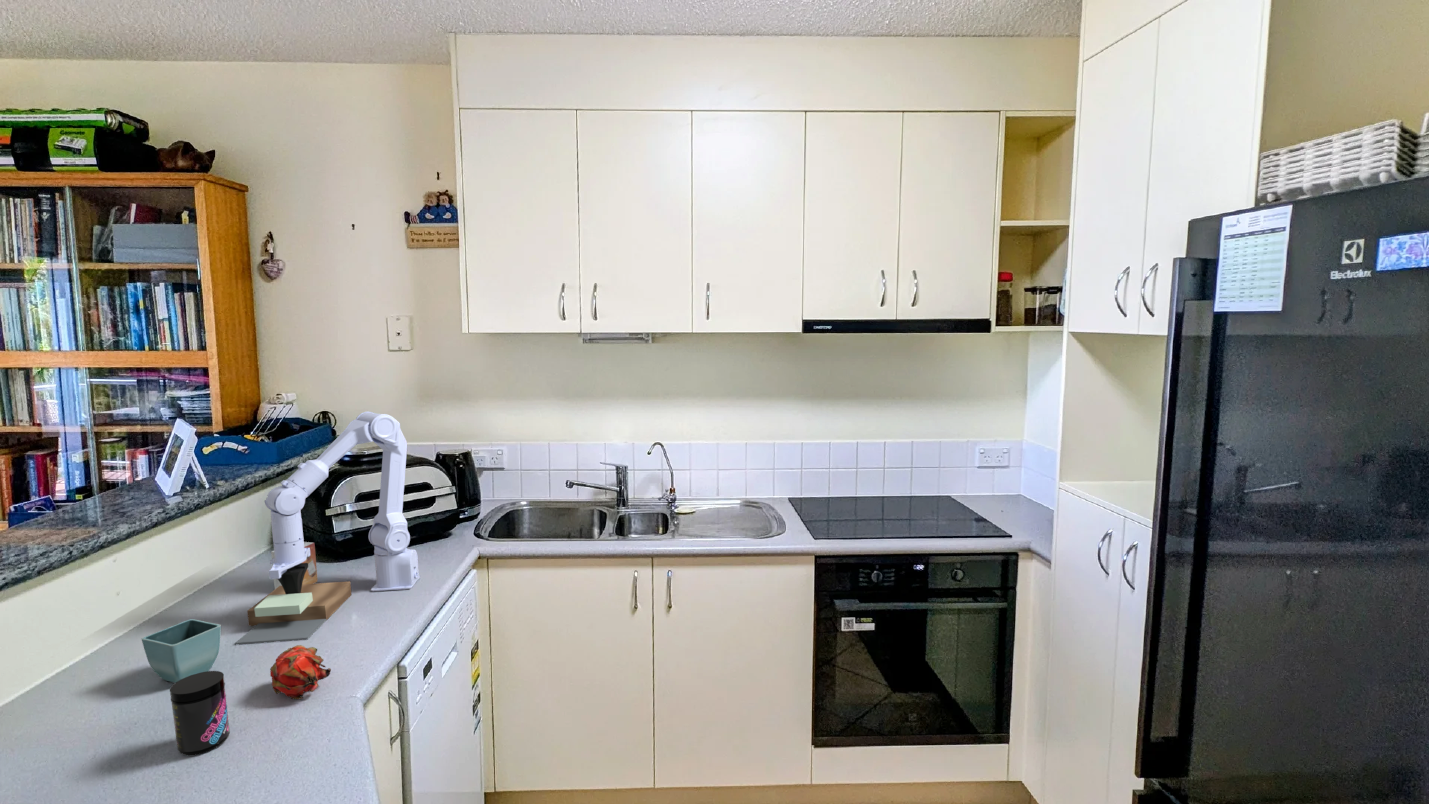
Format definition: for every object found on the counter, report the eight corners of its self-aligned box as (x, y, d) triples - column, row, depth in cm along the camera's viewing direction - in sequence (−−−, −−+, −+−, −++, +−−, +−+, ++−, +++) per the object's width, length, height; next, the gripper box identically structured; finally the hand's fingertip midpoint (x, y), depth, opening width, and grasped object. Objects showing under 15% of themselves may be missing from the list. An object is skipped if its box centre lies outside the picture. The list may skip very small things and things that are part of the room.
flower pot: (227, 668, 128) (222, 624, 127) (177, 692, 120) (172, 645, 119) (195, 661, 131) (190, 618, 130) (145, 684, 123) (139, 638, 122)
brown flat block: (351, 595, 162) (350, 581, 162) (326, 620, 148) (325, 605, 148) (280, 599, 160) (279, 585, 160) (248, 625, 146) (247, 610, 146)
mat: (326, 620, 148) (326, 618, 148) (307, 639, 140) (307, 637, 140) (258, 625, 147) (258, 623, 146) (235, 644, 138) (234, 642, 138)
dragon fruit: (291, 684, 125) (317, 716, 118) (247, 676, 119) (271, 709, 111) (319, 641, 127) (346, 670, 120) (277, 631, 121) (303, 661, 114)
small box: (293, 594, 163) (289, 552, 162) (274, 592, 165) (270, 551, 163) (318, 581, 171) (315, 542, 170) (300, 580, 172) (296, 540, 171)
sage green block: (312, 600, 150) (311, 592, 150) (300, 613, 144) (299, 605, 144) (269, 603, 149) (268, 595, 149) (255, 616, 143) (254, 608, 143)
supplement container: (193, 762, 101) (186, 697, 99) (167, 751, 103) (159, 688, 102) (240, 736, 107) (233, 675, 106) (214, 727, 110) (207, 667, 108)
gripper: (285, 530, 155) (290, 586, 157) (251, 551, 141) (257, 612, 143) (317, 529, 156) (322, 584, 158) (286, 549, 142) (292, 610, 144)
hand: (293, 597), depth 150 cm, fingers closed
